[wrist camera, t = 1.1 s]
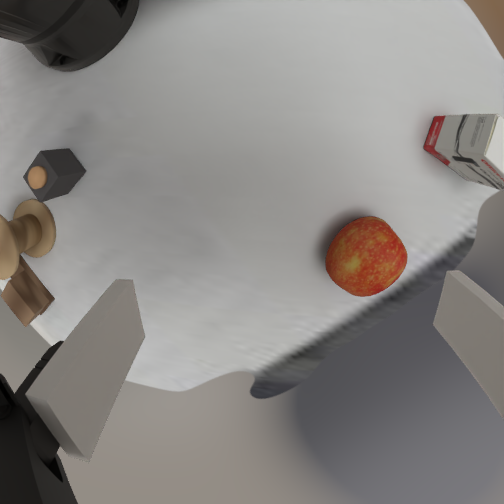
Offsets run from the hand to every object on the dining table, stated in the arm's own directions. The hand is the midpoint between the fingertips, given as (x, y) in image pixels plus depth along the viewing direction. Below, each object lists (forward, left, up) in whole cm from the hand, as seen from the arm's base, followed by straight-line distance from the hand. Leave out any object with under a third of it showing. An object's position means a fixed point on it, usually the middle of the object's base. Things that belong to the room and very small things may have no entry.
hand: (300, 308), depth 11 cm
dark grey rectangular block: (-19, -16, -22) cm, 34 cm away
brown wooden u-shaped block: (-18, -34, -22) cm, 45 cm away
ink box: (+8, +23, -23) cm, 33 cm away
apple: (+10, +5, -23) cm, 25 cm away
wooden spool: (-18, -26, -22) cm, 39 cm away
